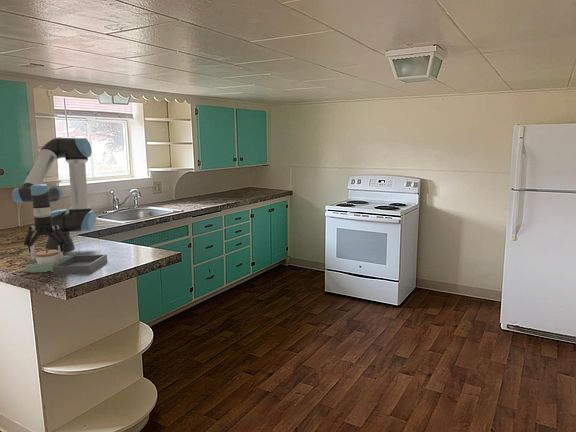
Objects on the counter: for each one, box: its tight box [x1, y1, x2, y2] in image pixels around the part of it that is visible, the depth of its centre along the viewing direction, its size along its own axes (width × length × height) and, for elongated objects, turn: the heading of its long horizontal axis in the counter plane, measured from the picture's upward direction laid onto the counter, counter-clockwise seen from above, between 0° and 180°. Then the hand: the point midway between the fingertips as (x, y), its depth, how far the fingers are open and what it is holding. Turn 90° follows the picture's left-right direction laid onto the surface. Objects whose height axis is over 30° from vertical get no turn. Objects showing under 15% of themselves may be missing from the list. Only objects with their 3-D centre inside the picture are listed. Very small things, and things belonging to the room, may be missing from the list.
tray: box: [52, 253, 108, 276], centre depth 218 cm, size 17×21×4 cm
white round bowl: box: [35, 249, 59, 265], centre depth 222 cm, size 11×11×9 cm
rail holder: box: [25, 255, 71, 273], centre depth 222 cm, size 13×17×4 cm
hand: (47, 258), depth 221 cm, fingers open, 13 cm apart
